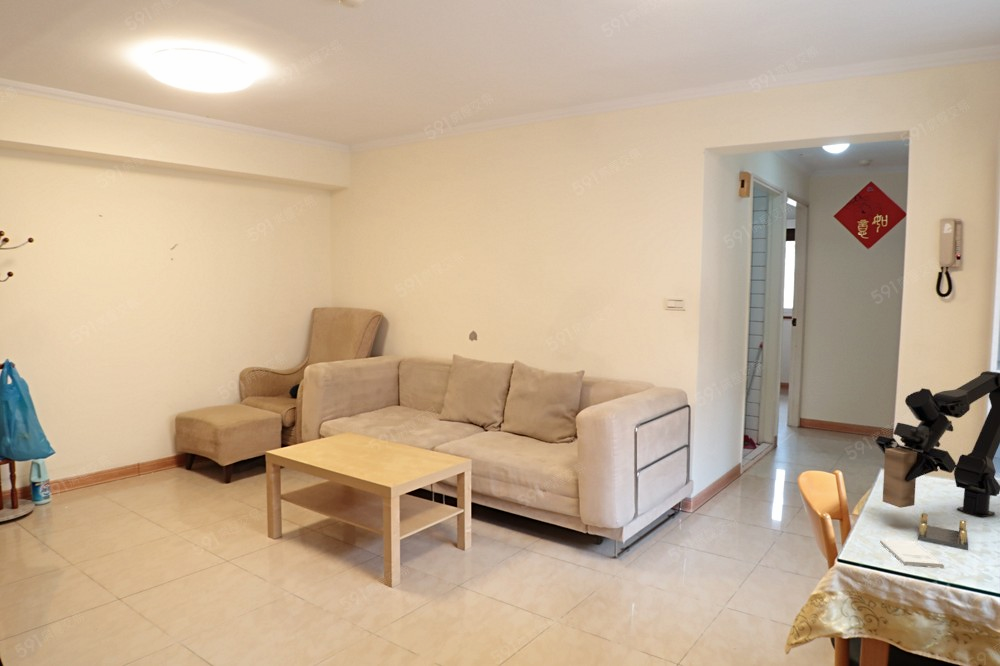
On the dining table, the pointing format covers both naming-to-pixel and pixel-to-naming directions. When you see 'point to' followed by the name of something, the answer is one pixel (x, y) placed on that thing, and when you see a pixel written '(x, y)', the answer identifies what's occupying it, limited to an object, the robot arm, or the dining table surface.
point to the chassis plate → (943, 534)
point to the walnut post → (898, 477)
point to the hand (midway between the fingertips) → (896, 477)
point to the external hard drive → (911, 553)
